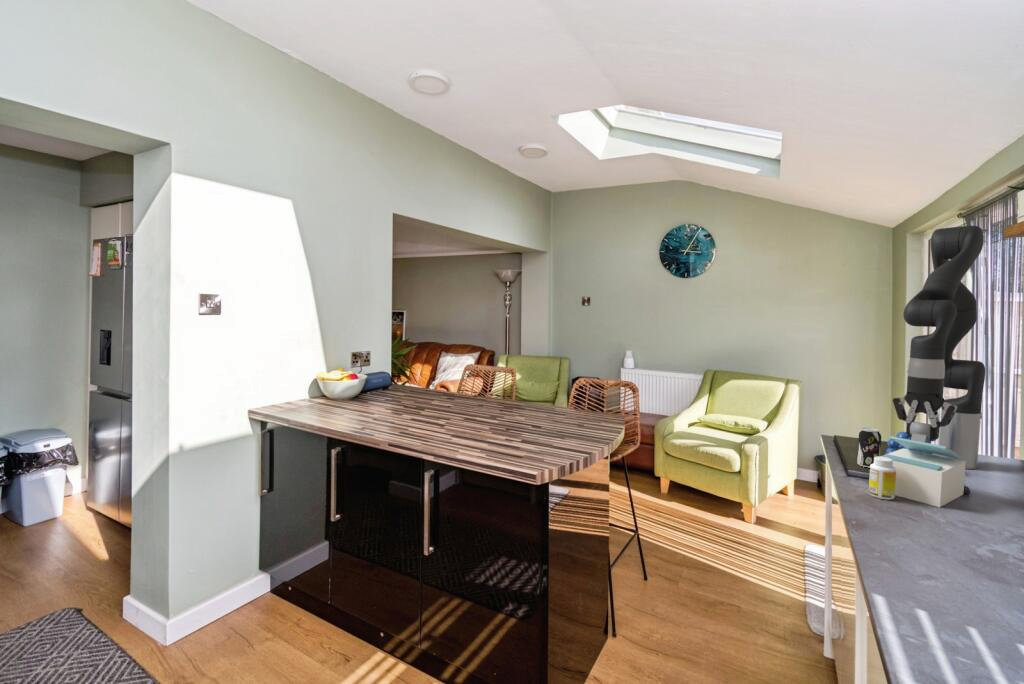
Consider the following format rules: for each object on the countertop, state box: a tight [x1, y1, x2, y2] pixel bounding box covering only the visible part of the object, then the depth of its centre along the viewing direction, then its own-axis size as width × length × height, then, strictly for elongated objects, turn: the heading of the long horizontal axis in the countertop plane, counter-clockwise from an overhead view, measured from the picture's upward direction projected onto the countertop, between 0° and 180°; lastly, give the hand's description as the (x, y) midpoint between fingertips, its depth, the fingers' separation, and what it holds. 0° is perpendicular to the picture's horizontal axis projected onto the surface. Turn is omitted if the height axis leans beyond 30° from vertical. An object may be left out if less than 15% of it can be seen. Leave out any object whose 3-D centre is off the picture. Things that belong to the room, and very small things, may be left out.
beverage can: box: [856, 427, 882, 469], centre depth 154 cm, size 6×6×12 cm
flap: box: [889, 421, 961, 459], centre depth 134 cm, size 12×12×6 cm
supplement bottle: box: [868, 455, 896, 501], centre depth 130 cm, size 6×6×10 cm
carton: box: [880, 448, 966, 508], centre depth 133 cm, size 16×14×10 cm
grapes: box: [885, 431, 934, 455], centre depth 153 cm, size 12×7×12 cm, turn 44°
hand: (921, 438), depth 132 cm, fingers closed on flap, 4 cm apart
